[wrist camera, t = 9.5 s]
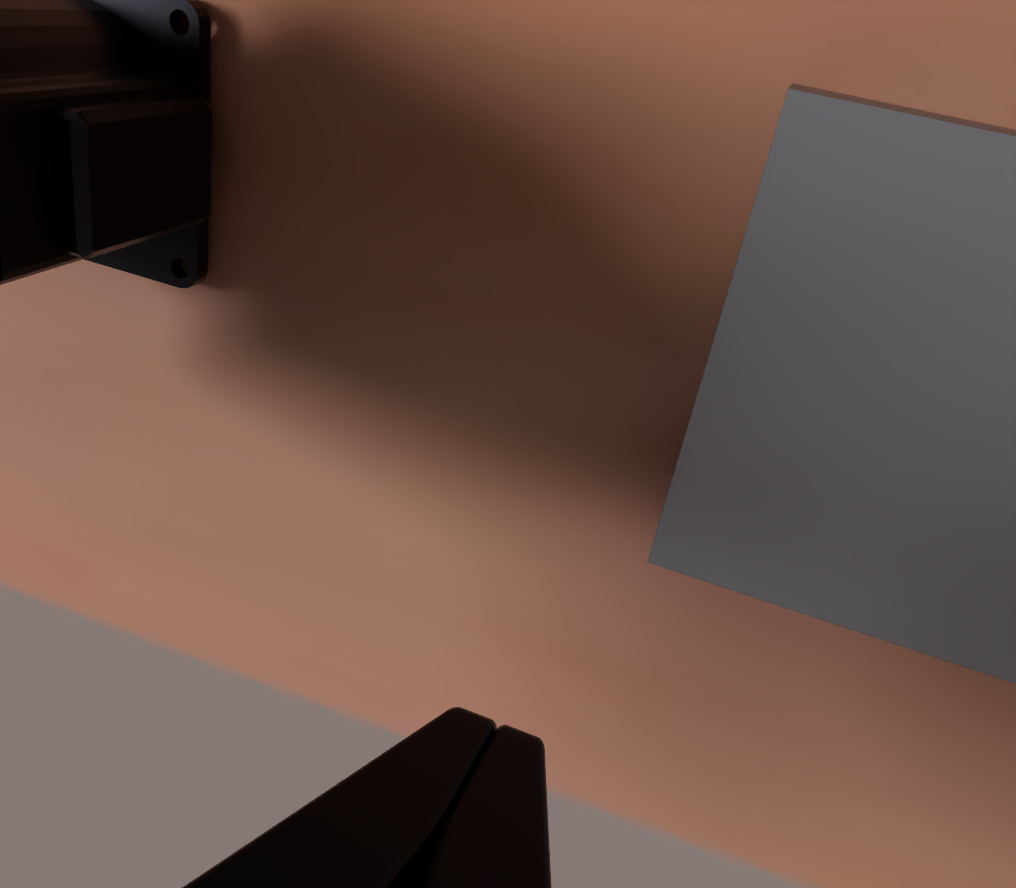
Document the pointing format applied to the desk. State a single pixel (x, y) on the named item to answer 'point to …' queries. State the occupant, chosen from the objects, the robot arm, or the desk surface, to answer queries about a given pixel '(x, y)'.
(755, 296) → the track
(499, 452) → the desk surface
